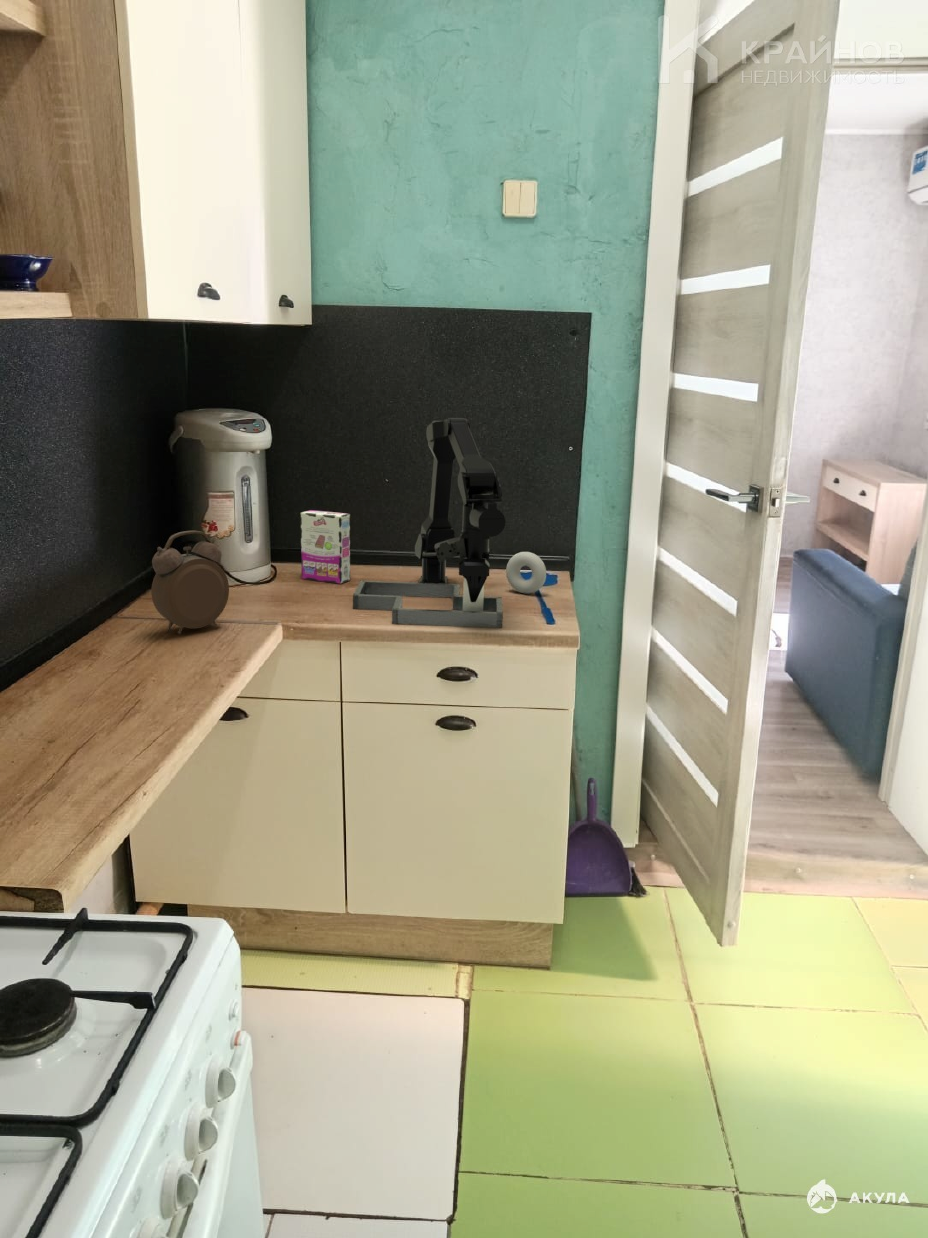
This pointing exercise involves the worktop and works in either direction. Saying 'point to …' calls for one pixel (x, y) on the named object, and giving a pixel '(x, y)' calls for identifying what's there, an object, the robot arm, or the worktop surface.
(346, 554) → the candy bar box
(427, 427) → the robot arm
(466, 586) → the peg
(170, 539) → the alarm clock
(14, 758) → the worktop surface
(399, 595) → the channel
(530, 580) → the donut
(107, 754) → the worktop surface
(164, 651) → the worktop surface
